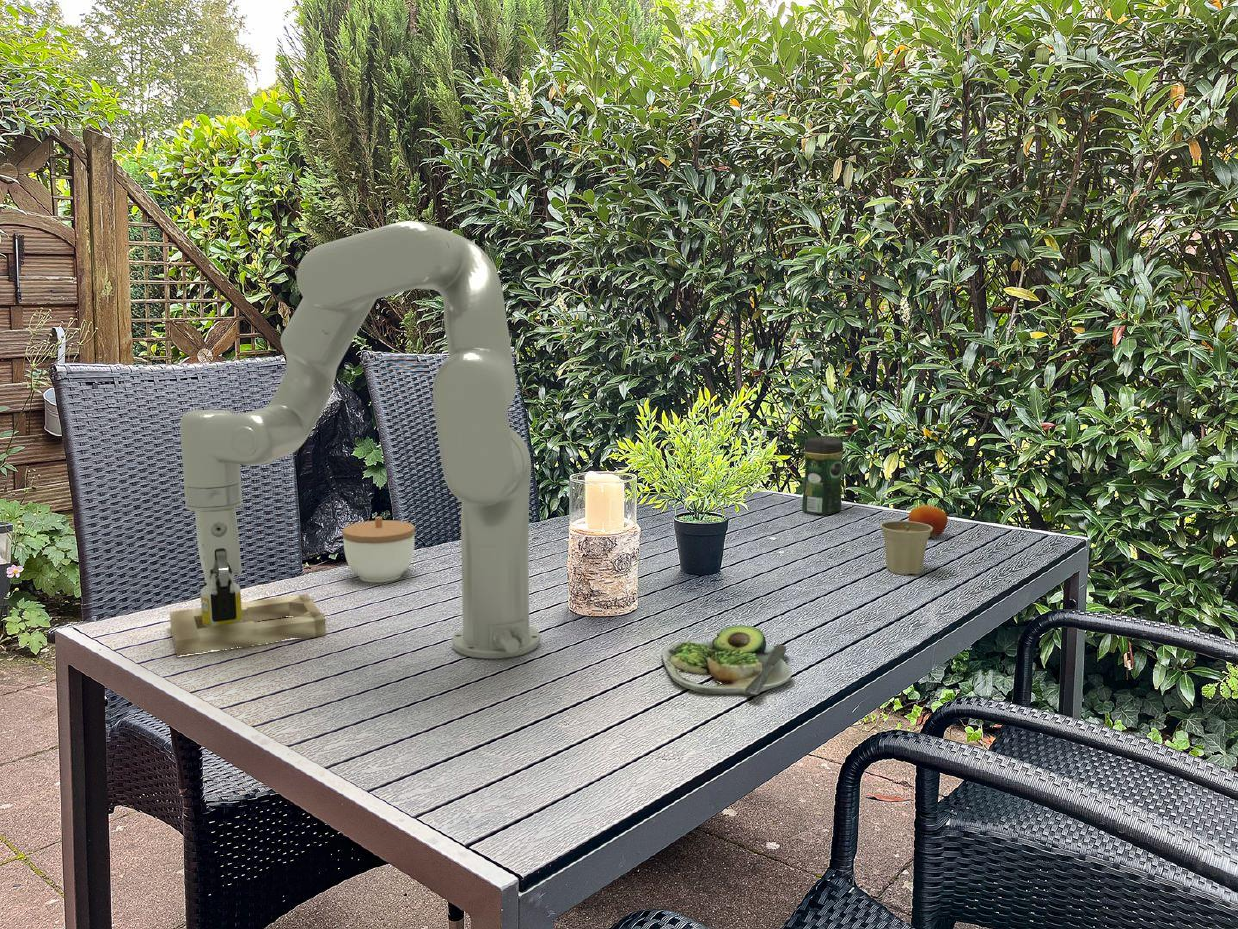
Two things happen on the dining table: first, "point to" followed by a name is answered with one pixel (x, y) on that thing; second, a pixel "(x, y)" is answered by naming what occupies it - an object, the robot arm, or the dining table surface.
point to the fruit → (930, 518)
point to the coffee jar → (822, 475)
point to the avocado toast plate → (729, 662)
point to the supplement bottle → (207, 605)
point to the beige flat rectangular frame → (249, 625)
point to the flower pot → (905, 545)
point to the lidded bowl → (379, 549)
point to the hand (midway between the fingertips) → (220, 610)
